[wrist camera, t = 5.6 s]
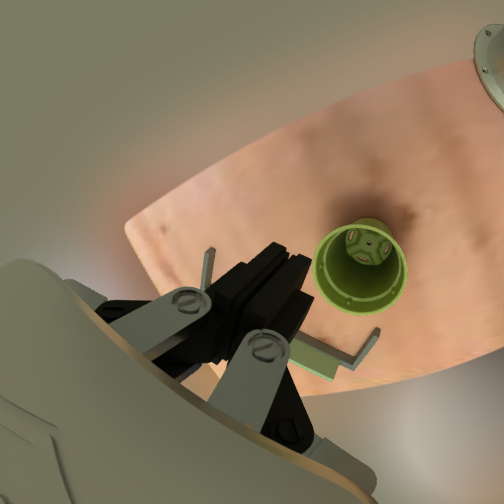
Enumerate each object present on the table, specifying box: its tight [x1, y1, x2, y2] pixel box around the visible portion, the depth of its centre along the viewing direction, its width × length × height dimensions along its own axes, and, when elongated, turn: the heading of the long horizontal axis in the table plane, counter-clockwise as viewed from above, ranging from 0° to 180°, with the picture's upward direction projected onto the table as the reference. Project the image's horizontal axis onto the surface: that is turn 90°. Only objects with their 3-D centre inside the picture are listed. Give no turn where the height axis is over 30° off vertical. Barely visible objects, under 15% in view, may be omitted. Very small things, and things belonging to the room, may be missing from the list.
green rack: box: [200, 248, 380, 382], centre depth 38 cm, size 8×28×6 cm, turn 77°
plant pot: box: [312, 218, 408, 316], centre depth 27 cm, size 9×9×9 cm
